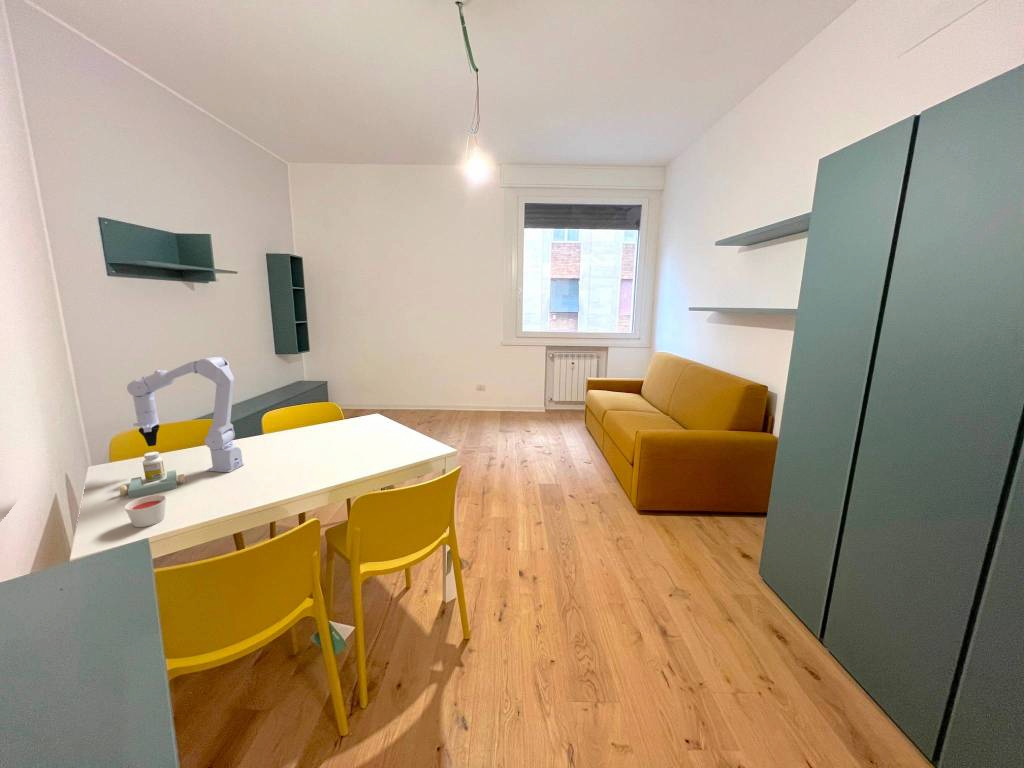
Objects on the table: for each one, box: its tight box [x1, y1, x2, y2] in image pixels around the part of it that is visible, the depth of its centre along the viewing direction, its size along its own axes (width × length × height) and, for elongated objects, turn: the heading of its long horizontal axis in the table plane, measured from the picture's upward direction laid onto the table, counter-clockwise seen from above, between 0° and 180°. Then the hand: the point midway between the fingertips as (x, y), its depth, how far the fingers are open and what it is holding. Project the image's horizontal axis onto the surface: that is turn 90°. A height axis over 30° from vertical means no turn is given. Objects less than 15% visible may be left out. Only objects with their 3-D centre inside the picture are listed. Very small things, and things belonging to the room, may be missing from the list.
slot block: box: [118, 469, 186, 499], centre depth 139 cm, size 12×17×3 cm
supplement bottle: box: [142, 451, 166, 482], centre depth 144 cm, size 5×5×10 cm
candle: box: [124, 494, 167, 528], centre depth 117 cm, size 9×9×6 cm
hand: (152, 445), depth 149 cm, fingers closed
